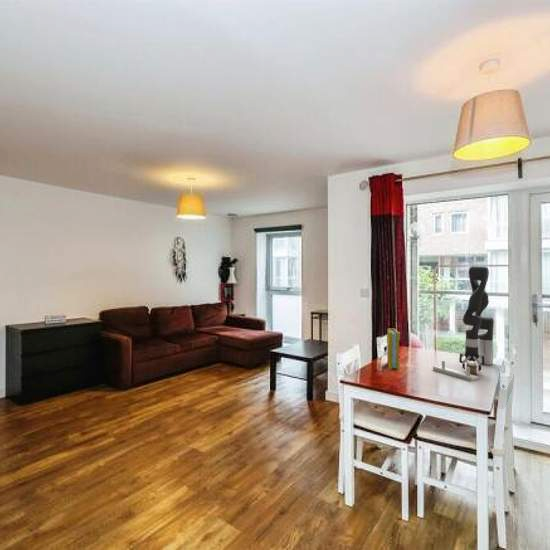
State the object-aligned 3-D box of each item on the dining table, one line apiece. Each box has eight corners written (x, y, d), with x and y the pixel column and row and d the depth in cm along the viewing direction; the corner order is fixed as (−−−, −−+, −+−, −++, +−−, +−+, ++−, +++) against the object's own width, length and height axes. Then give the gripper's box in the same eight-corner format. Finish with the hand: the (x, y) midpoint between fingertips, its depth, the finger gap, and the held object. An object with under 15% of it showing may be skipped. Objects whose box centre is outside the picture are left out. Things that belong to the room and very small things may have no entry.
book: (399, 369, 234) (399, 333, 233) (389, 369, 235) (389, 332, 235) (396, 363, 251) (396, 328, 250) (386, 362, 252) (386, 328, 251)
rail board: (440, 368, 237) (440, 358, 237) (478, 378, 214) (478, 368, 214) (432, 370, 233) (433, 360, 233) (470, 381, 210) (470, 370, 210)
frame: (466, 369, 234) (466, 360, 234) (475, 370, 232) (475, 361, 232) (467, 374, 223) (467, 365, 223) (476, 375, 221) (476, 366, 221)
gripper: (459, 345, 227) (459, 370, 227) (485, 347, 220) (484, 373, 221) (459, 343, 233) (459, 367, 234) (483, 345, 227) (483, 369, 227)
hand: (471, 370), depth 227 cm, fingers open, 8 cm apart
